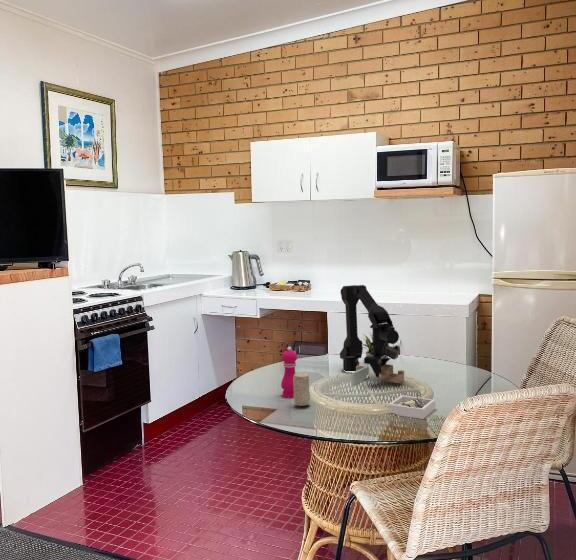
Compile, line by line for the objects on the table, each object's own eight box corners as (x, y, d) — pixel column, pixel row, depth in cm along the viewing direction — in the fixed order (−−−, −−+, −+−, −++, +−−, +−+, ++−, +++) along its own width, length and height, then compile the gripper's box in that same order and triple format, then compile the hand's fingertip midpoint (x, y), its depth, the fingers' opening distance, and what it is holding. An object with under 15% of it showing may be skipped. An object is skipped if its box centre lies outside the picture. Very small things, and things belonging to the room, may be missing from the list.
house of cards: (439, 409, 227) (440, 389, 226) (430, 415, 220) (430, 394, 219) (417, 405, 232) (417, 385, 232) (407, 411, 225) (407, 391, 225)
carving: (308, 401, 239) (307, 371, 238) (311, 407, 231) (311, 376, 230) (292, 402, 238) (291, 372, 237) (295, 408, 230) (294, 377, 229)
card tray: (388, 413, 222) (388, 404, 221) (401, 404, 233) (401, 395, 232) (423, 419, 215) (423, 409, 215) (435, 409, 226) (435, 399, 226)
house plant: (394, 362, 300) (394, 329, 298) (386, 369, 287) (386, 334, 286) (365, 360, 306) (365, 328, 304) (357, 366, 293) (356, 333, 292)
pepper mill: (287, 399, 243) (286, 349, 241) (278, 395, 249) (276, 346, 247) (302, 396, 246) (301, 347, 244) (293, 392, 252) (292, 344, 251)
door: (367, 378, 271) (366, 366, 270) (369, 378, 270) (369, 366, 269) (351, 385, 259) (351, 372, 258) (353, 386, 258) (353, 373, 258)
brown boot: (381, 380, 258) (380, 366, 257) (385, 378, 262) (385, 364, 261) (398, 383, 254) (398, 368, 253) (403, 380, 257) (403, 366, 257)
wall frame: (356, 378, 272) (356, 366, 271) (358, 377, 273) (358, 365, 273) (402, 384, 260) (402, 371, 260) (404, 383, 262) (404, 370, 262)
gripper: (388, 345, 247) (388, 383, 249) (405, 337, 263) (405, 373, 264) (363, 343, 253) (363, 380, 254) (381, 335, 269) (381, 370, 270)
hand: (379, 376), depth 261 cm, fingers closed on brown boot, 4 cm apart
